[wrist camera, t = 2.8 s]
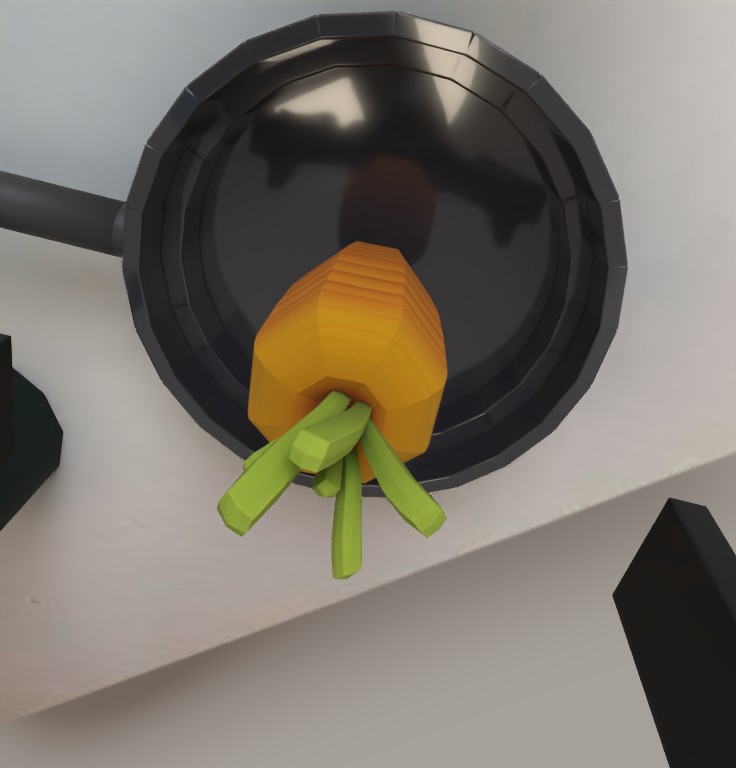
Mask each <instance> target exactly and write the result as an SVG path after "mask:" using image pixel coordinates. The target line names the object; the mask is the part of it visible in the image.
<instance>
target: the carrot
mask: <svg viewBox="0 0 736 768" xmlns="http://www.w3.org/2000/svg"><path fill="white" fill-rule="evenodd" d="M447 372H448V371H447V362H446V354H445V345H444V338H443V333H442V328H441V322H440V317H439V313H438V311H437V309H436V307H435V305H434V303H433V301H432V299H431V297H430V296H429V294H428V293H427V291H426V290H425V288H424V287H423V285H422V284H421V282H420V281H419V279H418V278H417V276H416V275H415V273H414V272H413V270H412V269H411V267H410V266H409V264H408V263H407V262H406V260H405V259H404V257H403V256H402V254H401V253H400V251H399V250H398V249H395V248H390V247H385V246H380V245H375V244H370V243H365V242H359V241H356V242H354V243H352V244H350V245H349V246H347V247H346V248H344V249H343V250H341V251H340V252H338V253H337V254H335V255H334V256H332V257H331V258H329V259H328V260H326V261H325V262H323V263H322V264H321V265H319V266H318V267H316V268H315V269H313V270H312V271H310V272H309V273H307V274H306V275H305V276H303V277H302V278H301V279H299V280H298V281H297V282H295V283H294V284H293V285H292V286H291V287H290V288H289V290H288V291H287V292H286V294H285V295H284V296H283V297H282V299H281V300H280V301H279V303H278V304H277V305H276V306H275V308H274V309H273V311H272V312H271V314H270V315H269V317H268V318H267V320H266V321H265V323H264V325H263V326H262V328H261V329H260V331H259V332H258V334H257V336H256V339H255V342H254V351H253V361H252V372H251V382H250V393H249V403H248V418H249V419H250V421H251V422H252V423H253V424H254V425H255V426H256V427H257V429H258V430H259V431H260V432H261V433H262V434H263V435H264V436H265V438H266V439H267V440H268V441H269V442H270V443H269V444H267V445H266V446H264V447H263V448H261V449H259V450H258V451H256V452H255V453H253V454H252V455H251V456H250V457H249V458H248V459H247V460H246V461H245V462H244V464H243V469H244V470H245V471H244V472H243V473H242V475H241V476H240V477H239V478H238V479H237V481H236V482H235V483H234V484H233V485H232V486H231V488H230V489H229V490H228V491H227V492H226V494H225V495H224V496H223V497H222V498H221V499H220V501H219V502H218V507H217V510H218V512H219V514H220V516H221V518H222V520H223V521H224V523H225V525H226V527H228V528H229V529H231V530H232V531H234V532H235V533H237V534H238V535H240V536H243V535H244V534H245V533H246V532H247V531H248V530H249V529H250V528H251V527H252V526H253V525H254V524H255V523H256V522H257V521H258V520H259V519H260V517H261V516H262V515H263V514H264V513H265V512H266V511H267V510H268V509H269V508H270V507H271V506H272V505H273V504H274V503H275V502H276V501H277V499H278V498H279V497H280V496H281V495H282V493H283V492H284V491H285V490H286V488H287V487H288V486H289V485H290V483H291V482H292V481H293V480H294V478H295V477H296V476H297V475H298V473H299V472H300V471H302V472H307V473H312V474H315V478H314V483H313V490H314V491H315V492H316V493H317V495H318V496H321V497H327V498H329V497H334V496H335V495H336V501H335V511H334V521H333V531H332V569H333V578H335V579H347V578H349V577H350V576H352V575H353V574H355V573H356V572H357V571H359V570H360V569H361V559H362V540H361V510H362V483H366V482H368V481H370V480H372V479H374V478H377V480H378V482H379V484H380V486H381V488H382V490H383V492H384V494H385V495H386V497H387V499H388V501H389V502H390V503H391V504H392V506H393V507H394V508H395V509H396V510H397V512H398V513H399V514H400V515H401V516H402V518H403V519H404V520H405V521H406V522H407V523H409V524H410V525H411V526H413V527H414V528H415V529H416V530H418V531H419V532H420V533H421V534H423V535H424V536H425V537H427V538H428V537H429V536H430V535H432V534H433V533H435V532H436V531H437V530H439V529H440V527H441V526H442V524H443V523H444V521H445V520H446V518H447V517H446V515H445V513H444V511H443V509H442V508H441V507H440V506H439V505H438V503H437V502H436V501H435V500H434V498H433V497H432V496H431V495H430V494H429V493H428V492H427V491H426V490H425V489H424V488H423V487H422V486H421V485H420V484H419V483H418V482H417V481H416V480H415V479H414V477H413V476H412V474H411V473H410V472H409V470H408V469H407V468H406V466H405V465H404V464H403V463H405V462H407V461H409V460H411V459H412V458H414V457H416V456H418V455H420V454H422V453H424V452H425V451H426V449H427V448H428V446H429V443H430V439H431V435H432V431H433V428H434V424H435V420H436V416H437V413H438V409H439V405H440V401H441V398H442V394H443V390H444V386H445V383H446V378H447Z"/></svg>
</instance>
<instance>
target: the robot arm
mask: <svg viewBox="0 0 736 768" xmlns="http://www.w3.org/2000/svg"><path fill="white" fill-rule="evenodd" d="M15 453H16V439H15V417H14V394H13V371H12V348H11V336H8V335H4V334H0V467H1V466H2V465H4V464H5V463H6V462H7V461H8V460H9V459H10V458H11V457H12V456H13V455H14V454H15ZM612 596H613V599H614V602H615V605H616V608H617V610H618V614H619V616H620V620H621V622H622V625H623V628H624V631H625V634H626V638H627V640H628V644H629V647H630V649H631V652H632V655H633V659H634V661H635V665H636V668H637V671H638V674H639V677H640V680H641V682H642V686H643V689H644V691H645V695H646V697H647V700H648V704H649V707H650V710H651V713H652V716H653V719H654V721H655V724H656V728H657V731H658V733H659V736H660V740H661V743H662V746H663V749H664V752H665V755H666V758H667V761H668V764H669V767H670V768H736V555H735V553H734V552H733V550H732V548H731V547H730V545H729V543H728V542H727V540H726V538H725V537H724V535H723V534H722V532H721V530H720V528H719V527H718V525H717V523H716V522H715V520H714V518H713V517H712V515H711V514H710V512H709V510H708V509H707V507H706V506H702V505H698V504H694V503H690V502H686V501H682V500H678V499H673V498H669V499H668V500H667V502H666V504H665V506H664V507H663V509H662V511H661V512H660V514H659V516H658V518H657V519H656V521H655V523H654V524H653V526H652V528H651V530H650V531H649V533H648V535H647V536H646V538H645V540H644V542H643V543H642V545H641V547H640V548H639V550H638V552H637V553H636V555H635V557H634V559H633V560H632V562H631V564H630V565H629V567H628V569H627V571H626V572H625V574H624V576H623V577H622V579H621V581H620V583H619V584H618V586H617V588H616V589H615V591H614V593H613V595H612Z"/></svg>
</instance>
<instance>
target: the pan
mask: <svg viewBox="0 0 736 768" xmlns="http://www.w3.org/2000/svg"><path fill="white" fill-rule="evenodd" d="M124 232H125V239H126V240H125V244H124V247H123V260H122V269H123V276H124V280H125V285H126V289H127V294H128V298H129V303H130V307H131V312H132V316H133V321H134V325H135V328H136V331H137V333H138V335H139V337H140V339H141V341H142V343H143V345H144V347H145V349H146V351H147V353H148V355H149V357H150V359H151V361H152V363H153V365H154V367H155V369H156V371H157V373H158V375H159V377H160V379H161V381H163V384H164V385H165V386H166V387H167V388H168V390H169V391H170V392H171V393H172V394H173V396H174V397H175V398H176V399H177V400H178V402H179V403H180V404H181V405H182V406H183V408H184V409H185V410H186V411H187V412H188V414H189V415H190V416H191V417H192V418H193V419H194V421H195V422H196V423H197V424H198V425H199V426H200V427H201V428H202V429H204V430H205V431H206V432H207V433H209V434H210V435H211V436H213V437H214V438H215V439H217V440H218V441H219V442H221V443H222V444H223V445H224V446H226V447H227V448H228V449H230V450H231V451H232V452H234V453H235V454H236V455H238V456H239V457H240V458H241V459H244V460H245V461H246V460H247V459H248V458H249V457H250V456H251V455H252V454H253V453H255V452H256V451H258V450H259V449H261V448H263V447H264V446H266V445H267V444H269V443H270V442H269V441H268V440H267V439H266V438H265V436H264V435H263V434H262V433H261V432H260V431H259V430H258V429H257V427H256V426H255V425H254V424H253V423H252V422H251V421H250V419H249V418H248V403H249V393H250V382H251V372H252V361H253V351H254V342H255V339H256V336H257V334H258V332H259V331H260V329H261V328H262V326H263V325H264V323H265V321H266V320H267V318H268V317H269V315H270V314H271V312H272V311H273V309H274V308H275V306H276V305H277V304H278V303H279V301H280V300H281V299H282V297H283V296H284V295H285V294H286V292H287V291H288V290H289V288H290V287H291V286H292V285H293V284H294V283H295V282H297V281H298V280H299V279H301V278H302V277H303V276H305V275H306V274H307V273H309V272H310V271H312V270H313V269H315V268H316V267H318V266H319V265H321V264H322V263H323V262H325V261H326V260H328V259H329V258H331V257H332V256H334V255H335V254H337V253H338V252H340V251H341V250H343V249H344V248H346V247H347V246H349V245H350V244H352V243H354V242H356V241H359V242H365V243H370V244H375V245H380V246H385V247H390V248H395V249H398V250H399V251H400V253H401V254H402V256H403V257H404V259H405V260H406V262H407V263H408V264H409V266H410V267H411V269H412V270H413V272H414V273H415V275H416V276H417V278H418V279H419V281H420V282H421V284H422V285H423V287H424V288H425V290H426V291H427V293H428V294H429V296H430V297H431V299H432V301H433V303H434V305H435V307H436V309H437V311H438V313H439V317H440V322H441V328H442V333H443V338H444V345H445V354H446V362H447V371H448V372H447V378H446V383H445V386H444V390H443V394H442V398H441V401H440V405H439V409H438V413H437V416H436V420H435V424H434V428H433V431H432V435H431V439H430V443H429V446H428V448H427V449H426V451H425V452H424V453H422V454H420V455H418V456H416V457H414V458H412V459H411V460H409V461H407V462H405V463H403V464H404V465H405V466H406V468H407V469H408V470H409V472H410V473H411V474H412V476H413V477H414V479H415V480H416V481H417V482H418V483H419V484H420V485H421V486H422V487H423V488H424V489H425V490H426V491H427V492H428V493H429V492H434V491H439V490H445V489H450V488H455V487H459V486H461V485H463V484H466V483H468V482H470V481H473V480H475V479H477V478H480V477H482V476H484V475H487V474H489V473H491V472H494V471H496V470H498V469H501V468H503V467H505V466H507V464H510V463H511V462H513V461H514V460H515V459H517V458H518V457H519V456H521V455H522V454H523V453H525V452H526V451H528V450H529V449H530V448H532V447H533V446H534V445H536V444H537V443H538V442H540V441H541V440H542V439H544V438H545V437H547V436H548V435H549V434H551V433H552V432H553V430H555V429H556V428H557V427H558V425H559V424H560V423H561V422H562V421H563V419H564V418H565V417H566V416H567V415H568V413H569V412H570V411H571V410H572V409H573V407H574V406H575V405H576V404H577V402H578V401H579V400H580V399H581V398H582V396H583V395H584V394H585V393H586V392H587V390H588V389H589V388H590V386H591V385H592V383H593V381H594V379H595V377H596V374H597V372H598V370H599V368H600V366H601V364H602V362H603V359H604V357H605V355H606V353H607V351H608V349H609V346H610V344H611V342H612V340H613V338H614V336H615V334H616V330H617V329H618V324H619V318H620V312H621V306H622V300H623V294H624V287H625V281H626V275H627V269H628V266H627V264H628V263H627V255H626V247H625V238H624V230H623V222H622V214H621V206H620V200H619V195H618V193H617V191H616V188H615V186H614V184H613V182H612V179H611V177H610V175H609V172H608V170H607V168H606V166H605V163H604V161H603V159H602V157H601V154H600V152H599V150H598V147H597V145H596V143H595V141H594V138H593V136H592V134H591V133H590V130H589V129H588V128H587V127H586V126H585V124H584V123H583V122H582V121H581V120H580V119H579V117H578V116H577V115H576V114H575V113H574V112H573V110H572V109H571V108H570V107H569V106H568V105H567V103H566V102H565V101H564V100H563V99H562V98H561V96H560V95H559V94H558V93H557V92H556V91H555V90H554V88H553V87H552V86H551V85H550V84H549V83H548V81H547V80H546V79H545V78H544V77H543V76H542V75H540V74H539V72H537V71H536V70H534V69H533V68H531V67H529V66H528V65H526V64H525V63H523V62H521V61H520V60H518V59H517V58H515V57H513V56H512V55H510V54H509V53H507V52H506V51H504V50H502V49H501V48H499V47H498V46H496V45H494V44H493V43H491V42H490V41H488V40H486V39H485V38H483V37H482V36H480V35H478V34H477V33H473V31H470V30H466V29H462V28H458V27H455V26H451V25H447V24H443V23H440V22H436V21H432V20H428V19H425V18H421V17H417V16H413V15H410V14H406V13H402V12H397V13H396V12H395V11H386V12H363V13H339V14H320V15H318V16H317V15H314V16H311V17H309V18H306V19H303V20H300V21H298V22H295V23H292V24H289V25H287V26H284V27H281V28H278V29H276V30H273V31H270V32H267V33H265V34H262V35H259V36H256V37H254V38H251V39H248V40H246V41H245V42H243V43H241V44H240V45H239V46H237V47H236V48H235V49H233V50H232V51H231V52H229V53H228V54H227V55H226V56H224V57H223V58H222V59H220V60H219V61H218V62H216V63H215V64H214V65H212V66H211V67H210V68H209V69H207V70H206V71H205V72H203V73H202V74H201V75H199V76H198V77H197V78H196V79H194V80H193V81H192V82H190V83H189V84H188V86H187V87H185V88H184V89H183V91H182V92H181V94H180V95H179V97H178V98H177V99H176V101H175V102H174V104H173V105H172V106H171V108H170V109H169V111H168V112H167V114H166V115H165V116H164V118H163V119H162V121H161V122H160V123H159V125H158V126H157V128H156V129H155V131H154V132H153V133H152V135H151V136H150V138H149V139H148V140H147V144H146V145H145V147H144V150H143V153H142V156H141V159H140V162H139V165H138V168H137V171H136V174H135V177H134V180H133V183H132V186H131V189H130V192H129V195H128V198H127V201H126V207H125V214H124ZM314 478H315V474H312V473H307V472H302V471H300V472H299V473H298V475H297V476H296V477H295V478H294V480H293V481H292V482H291V483H293V482H294V484H298V485H302V486H306V487H310V488H313V483H314ZM362 497H386V495H385V494H384V492H383V490H382V488H381V486H380V484H379V482H378V480H377V478H374V479H372V480H370V481H368V482H366V483H362Z"/></svg>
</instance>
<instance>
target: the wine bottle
mask: <svg viewBox="0 0 736 768" xmlns="http://www.w3.org/2000/svg"><path fill="white" fill-rule="evenodd" d="M12 371H13V394H14V417H15V439H16V453H15V454H14V455H13V456H12V457H11V458H10V459H9V460H8V461H7V462H6V463H5V464H4V465H2V466H1V467H0V531H1V530H2V529H3V528H4V527H5V526H6V524H7V523H8V522H9V521H10V520H11V519H12V518H13V517H14V515H15V514H16V513H17V512H18V511H19V510H20V509H21V508H22V506H23V505H24V504H25V503H26V502H27V501H28V500H29V499H30V497H31V496H32V495H33V494H34V493H35V492H36V491H37V490H38V489H39V487H40V486H41V485H42V484H43V483H44V482H45V481H46V480H47V478H48V477H49V476H50V475H51V474H52V473H53V472H54V471H55V469H56V468H57V467H58V466H59V462H60V453H61V444H62V435H63V431H62V429H61V427H60V425H59V423H58V421H57V419H56V417H55V415H54V413H53V411H52V409H51V407H50V405H49V403H48V401H47V399H46V397H45V395H44V394H43V393H42V392H41V391H40V390H39V389H37V388H36V387H35V386H34V385H33V384H31V383H30V382H29V381H28V380H26V379H25V378H24V377H23V376H22V375H20V374H19V373H18V372H17V371H16V370H14V369H13V368H12Z"/></svg>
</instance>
